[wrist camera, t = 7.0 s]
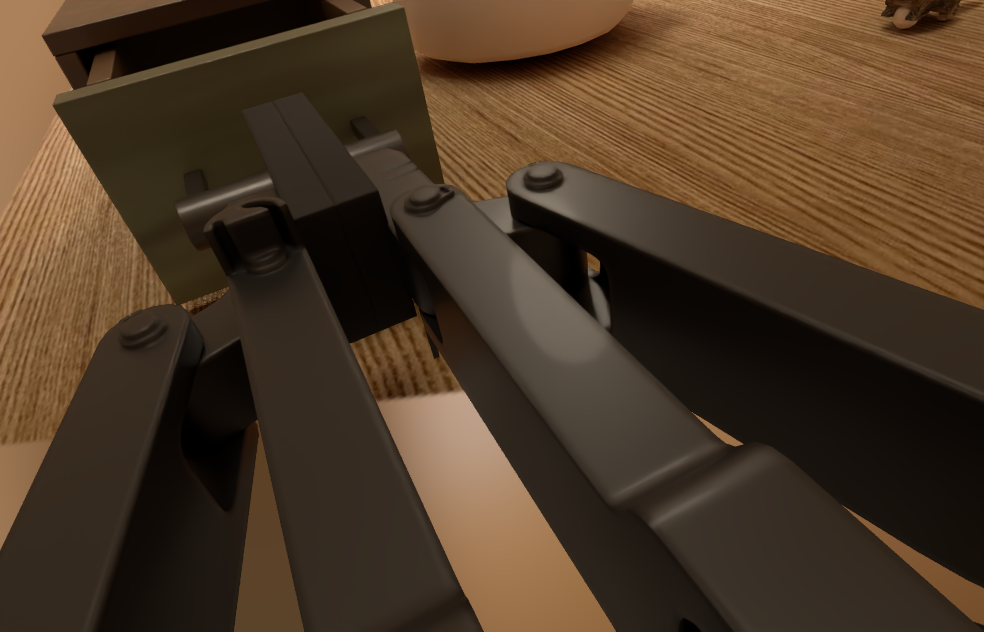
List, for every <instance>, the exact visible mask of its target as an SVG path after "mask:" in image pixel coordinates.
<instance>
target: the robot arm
mask: <svg viewBox="0 0 984 632" xmlns="http://www.w3.org/2000/svg"><path fill="white" fill-rule="evenodd" d="M242 112H243V114H244V117H245V119H246V121H247V124H248V126H249V128H250V131H251V133H252V136H253V138H254V140H255V143H256V145H257V147H258V150H259V152H260V154H261V157H262V159H263V161H264V164H265V166H266V168H267V171H268V173H269V175H270V178H271V180H272V182H273V185H274V187H275V188H272V189H269V190H266V191H263V192H260V193H257V194H254V195H251V196H248V197H246V198H243V199H240V200H237V201H234V202H231V203H228V205H227V207H226V208H225V209H224V210H222V211H221V212H219V213H218V214H216V215H214V216H213V217H212V218H211V219H210V220H209V221H208V222H207V224H206V225H205V228H204V232H203V233H204V235H205V237H206V239H207V241H208V243H209V245H210V246H211V248H212V250H213V252H214V254H215V256H216V258H217V259H218V261H219V263H220V265H221V267H222V269H223V271H224V272H225V274H226V276H227V281H228V286H229V289H228V290H227V292H226V293H225V294H224V295H223V296H222V297H221V298H219V299H218V300H217V301H216V302H214V303H213V304H211V305H210V306H208V307H207V308H205V309H204V310H202V311H200V312H198V313H197V314H195V315H193V316H192V317H191V316H190V315H189V313H188V312H187V311H186V310H185V309H184V308H183V307H182V306H178V305H172V304H166V305H159V306H153V307H150V308H147V309H144V310H139V311H136V312H134V313H132V314H131V316H129V315H128V316H126V317H125V318H123V319H122V320H120V321H119V323H118V324H116V325H115V326H114V327H113V328H111V329H110V330H109V331H108V332H107V333H106V334H105V336H104V337H103V338H102V340H101V341H100V342H99V344H98V346H97V348H96V350H95V352H94V354H93V357H92V359H91V361H90V363H89V365H88V367H87V369H86V371H85V373H84V376H83V378H82V380H81V382H80V384H79V386H78V388H77V390H76V392H75V394H74V397H73V399H72V401H71V403H70V405H69V407H68V409H67V411H66V413H65V416H64V418H63V420H62V422H61V424H60V426H59V428H58V430H57V432H56V434H55V437H54V439H53V441H52V443H51V445H50V447H49V449H48V451H47V454H46V455H45V458H44V460H43V462H42V464H41V466H40V468H39V470H38V472H37V474H36V477H35V479H34V481H33V483H32V485H31V487H30V489H29V491H28V493H27V495H26V498H25V500H24V502H23V504H22V506H21V508H20V510H19V513H18V514H17V517H16V519H15V521H14V523H13V525H12V527H11V529H10V532H9V533H8V535H7V538H6V540H5V542H4V544H3V546H2V548H1V550H0V632H234V625H235V617H236V609H237V601H238V594H239V586H240V578H241V570H242V562H243V554H244V546H245V538H246V531H247V523H248V515H249V507H250V499H251V492H252V484H253V476H254V468H255V459H256V452H257V444H258V437H259V433H258V427H257V424H256V422H255V421H256V420H258V422H259V427H260V431H261V436H262V441H263V445H264V450H265V454H266V459H267V463H268V467H269V472H270V477H271V481H272V485H273V490H274V495H275V500H276V504H277V508H278V513H279V517H280V523H281V527H282V532H283V536H284V541H285V545H286V550H287V554H288V559H289V563H290V568H291V572H292V577H293V582H294V586H295V591H296V595H297V600H298V604H299V609H300V614H301V618H302V623H303V627H304V632H484V631H483V630H482V627H481V625H480V623H479V621H478V619H477V617H476V614H475V612H474V610H473V608H472V606H471V604H470V603H469V600H468V599H467V597H466V596H465V594H464V592H463V590H462V588H461V586H460V584H459V582H458V580H457V578H456V575H455V573H454V571H453V569H452V567H451V565H450V562H449V560H448V558H447V556H446V554H445V551H444V549H443V547H442V545H441V543H440V540H439V538H438V536H437V534H436V532H435V530H434V527H433V525H432V523H431V521H430V519H429V517H428V514H427V512H426V510H425V508H424V505H423V503H422V501H421V499H420V497H419V495H418V493H417V490H416V488H415V486H414V484H413V482H412V479H411V477H410V475H409V473H408V471H407V468H406V466H405V464H404V462H403V460H402V457H401V455H400V453H399V451H398V449H397V447H396V444H395V442H394V440H393V438H392V436H391V433H390V431H389V429H388V427H387V425H386V422H385V420H384V418H383V416H382V414H381V412H380V410H379V407H378V405H377V403H376V401H375V398H374V396H373V394H372V392H371V390H370V388H369V385H368V383H367V381H366V379H365V377H364V374H363V372H362V370H361V368H360V366H359V363H358V361H357V359H356V357H355V355H354V353H353V350H352V348H351V346H350V343H352V342H355V341H357V340H360V339H362V338H365V337H367V336H369V335H372V334H374V333H377V332H379V331H381V330H384V329H386V328H389V327H391V326H393V325H396V324H398V323H401V322H403V321H405V320H408V319H410V318H413V317H415V316H417V314H416V310H415V307H414V304H413V301H412V298H413V300H414V301H415V303H416V304H417V306H418V307H419V310H420V314H421V317H422V320H423V323H424V327H425V330H426V333H427V337H428V340H429V343H430V347H431V350H432V353H433V356H434V359H435V358H437V357H440V356H439V352H440V353H441V355H442V356H443V358H444V360H445V361H446V363H447V364H448V366H449V368H450V369H451V371H452V372H453V374H454V375H455V377H456V379H457V380H458V382H459V383H460V385H461V386H462V388H463V390H464V391H465V393H466V394H467V396H468V398H469V399H470V401H471V402H472V403H473V405H474V407H475V409H476V410H477V412H478V413H479V415H480V417H481V418H482V420H483V421H484V423H485V424H486V426H487V427H488V429H489V431H490V432H491V434H492V435H493V437H494V438H495V440H496V442H497V443H498V445H499V446H500V448H501V450H502V451H503V452H504V454H505V456H506V457H507V459H508V461H509V462H510V464H511V465H512V467H513V469H514V470H515V471H516V473H517V475H518V477H519V478H520V480H521V481H522V483H523V484H524V486H525V488H526V489H527V491H528V492H529V494H530V495H531V497H532V499H533V500H534V502H535V503H536V505H537V506H538V508H539V510H540V511H541V513H542V514H543V516H544V518H545V519H546V521H547V522H548V524H549V525H550V527H551V529H552V530H553V532H554V533H555V535H556V536H557V538H558V540H559V541H560V543H561V544H562V546H563V548H564V549H565V551H566V552H567V554H568V556H569V557H570V559H571V560H572V562H573V563H574V565H575V566H576V568H577V570H578V571H579V573H580V574H581V576H582V577H583V579H584V581H585V582H586V584H587V586H588V587H589V589H590V590H591V592H592V593H593V595H594V596H595V598H596V600H597V601H598V603H599V604H600V606H601V608H602V609H603V611H604V612H605V614H606V616H607V617H608V619H609V620H610V622H611V623H612V625H613V627H614V629H615V630H616V632H984V625H981V624H979V623H976V622H973V621H972V620H971V619H969V618H968V617H967V616H966V615H965V614H964V613H962V612H961V611H960V610H959V609H958V608H957V607H956V606H955V605H954V604H952V603H951V602H950V601H949V600H948V599H947V598H946V597H945V596H944V595H942V594H941V593H940V592H939V591H938V590H937V589H936V588H934V587H933V586H932V585H931V584H930V583H929V582H928V581H927V580H925V579H924V578H923V577H922V576H921V575H920V574H919V573H918V572H916V571H915V570H914V569H913V568H912V567H911V566H910V565H909V564H907V563H906V562H905V561H904V560H903V559H902V558H900V557H899V556H898V555H897V554H896V553H895V552H894V551H893V550H892V549H890V548H889V547H888V546H887V545H886V544H885V543H884V542H883V541H881V540H880V539H879V538H878V537H877V536H876V535H875V534H874V533H872V532H871V531H870V530H869V529H868V528H867V527H866V526H865V525H863V524H862V523H861V522H860V521H859V520H858V519H857V518H856V517H854V516H853V515H852V514H851V513H850V512H849V511H848V510H847V509H845V508H844V507H843V506H845V507H846V508H848V509H850V510H851V511H853V512H854V513H856V514H858V515H859V516H861V517H862V518H864V519H866V520H867V521H869V522H870V523H872V524H874V525H875V526H877V527H878V528H880V529H882V530H883V531H885V532H887V533H888V534H890V535H892V536H893V537H895V538H896V539H898V540H899V541H901V542H903V543H904V544H906V545H908V546H909V547H911V548H913V549H914V550H916V551H917V552H919V553H921V554H923V555H924V556H926V557H928V558H930V559H931V560H933V561H935V562H937V563H938V564H940V565H942V566H943V567H945V568H947V569H949V570H950V571H952V572H954V573H956V574H958V575H959V576H961V577H963V578H965V579H966V580H968V581H971V582H973V583H974V584H977V585H979V586H981V587H983V588H984V310H982V309H979V308H976V307H973V306H971V305H968V304H965V303H962V302H959V301H956V300H954V299H951V298H948V297H945V296H942V295H939V294H937V293H934V292H931V291H928V290H925V289H923V288H920V287H917V286H914V285H911V284H908V283H906V282H903V281H900V280H897V279H894V278H891V277H889V276H886V275H883V274H880V273H877V272H874V271H872V270H869V269H866V268H863V267H860V266H857V265H855V264H852V263H849V262H846V261H843V260H840V259H838V258H835V257H832V256H829V255H826V254H823V253H821V252H818V251H815V250H812V249H809V248H806V247H804V246H801V245H798V244H795V243H792V242H789V241H787V240H784V239H781V238H778V237H775V236H773V235H770V234H767V233H764V232H761V231H758V230H756V229H753V228H750V227H747V226H744V225H741V224H739V223H736V222H733V221H730V220H727V219H724V218H722V217H719V216H716V215H713V214H710V213H707V212H705V211H702V210H699V209H696V208H693V207H690V206H688V205H685V204H682V203H679V202H676V201H673V200H671V199H668V198H665V197H662V196H659V195H656V194H654V193H651V192H648V191H645V190H642V189H639V188H637V187H634V186H631V185H628V184H625V183H623V182H620V181H617V180H614V179H611V178H608V177H606V176H603V175H600V174H597V173H594V172H591V171H589V170H586V169H583V168H580V167H577V166H574V165H572V164H568V163H563V162H548V161H539V162H538V163H536V162H535V163H531V164H528V166H525V167H523V168H520V169H518V170H517V171H515V172H514V173H512V174H511V175H510V176H509V178H508V179H507V181H506V187H507V193H508V196H505V197H499V198H494V199H489V200H482V201H471V200H470V199H469V198H468V197H467V196H466V195H465V194H464V193H463V192H462V191H461V190H460V189H458V188H456V187H454V186H452V185H446V184H434V183H433V182H432V181H431V180H430V179H429V178H428V177H427V176H426V175H425V174H424V173H423V172H422V171H421V170H420V169H418V167H417V166H416V165H415V164H414V163H413V162H412V161H411V160H410V159H409V158H408V157H407V156H406V155H405V154H404V153H403V152H400V151H397V150H393V149H390V148H384V149H381V150H378V151H375V152H372V153H369V154H366V155H364V156H361V157H358V158H355V159H354V158H353V157H352V155H351V154H350V153H349V152H348V150H347V149H346V148H345V146H344V145H343V144H342V143H341V141H340V140H339V139H338V138H337V136H336V135H335V134H334V132H333V131H332V130H331V129H330V127H329V126H328V125H327V123H326V122H325V121H324V120H323V118H322V117H321V116H320V114H319V113H318V112H317V111H316V109H315V108H314V107H313V105H312V104H311V103H310V102H309V100H308V99H307V98H306V96H305V95H304V94H303V93H302V92H301V93H298V94H294V95H291V96H288V97H285V98H281V99H278V100H275V101H271V102H268V103H265V104H262V105H258V106H255V107H252V108H248V109H245V110H242ZM587 252H588V253H590V254H592V255H593V256H594V257H596V258H597V259H598V260H599V261H600V272H598V271H595V270H593V269H591V268H589V267H588V261H587ZM438 350H439V352H438ZM692 412H693V413H694V414H696V415H698V416H699V417H701V418H703V419H704V420H706V421H708V422H709V423H711V424H712V425H714V426H715V427H717V428H719V429H720V430H722V431H724V432H725V433H727V434H728V435H730V436H732V437H733V438H735V439H736V440H738V441H740V442H741V443H743V445H740V446H736V447H735V446H732V445H729V444H726V443H725V442H724V441H722V440H721V439H720V438H718V437H717V436H716V435H715V434H714V433H713V432H711V430H710V429H708V428H707V427H706V426H705V425H704V424H703V423H702V422H701V421H700V420H699V419H698V418H697V417H696V416H695V415H694V414H693V413H692ZM842 505H843V506H842Z"/></svg>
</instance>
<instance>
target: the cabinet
mask: <svg viewBox="0 0 984 632" xmlns="http://www.w3.org/2000/svg"><path fill="white" fill-rule="evenodd" d="M266 1H270V0H65V2H64V3H63V5H62V7H61V8H60V9H59V11H58V12H57V14H56V15H55V17H54V18H53V20H52V21H51V23H50V24H49V26H48V27H47V28H46V30H45V31H44V33H43V34H42V37H43V39H44V41H45V42H46V44H47V46H48V47H49V49H50V51H51V53H52V54H53V56H56V57H55V59H56V61H57V62H58V64H59V66H60V68H61V69H62V71H63V73H64V74H65V76H66V78H67V79H68V81H69V83H70V85H71V86H72V88H73V90H76V89H80V88H83V87H87V82H88V78H89V74H90V71H91V67H92V64H93V60H94V57H95V53H96V50H97V46H98V45H102V44H105V43H109V42H113V41H117V40H121V39H125V38H128V37H132V36H136V35H140V34H144V33H148V32H151V31H155V30H159V29H163V28H167V27H171V26H174V25H178V24H182V23H186V22H190V21H194V20H197V19H201V18H205V17H209V16H213V15H216V14H220V13H224V12H228V11H232V10H236V9H239V8H243V7H247V6H251V5H255V4H259V3H262V2H266ZM353 1H355V2H357V3H359V4H361V5H363V6H364V7H366V8H367V9H370V8H372V7H371V3H370V0H353Z"/></svg>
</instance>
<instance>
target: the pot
mask: <svg viewBox="0 0 984 632" xmlns="http://www.w3.org/2000/svg"><path fill="white" fill-rule="evenodd" d="M393 2H394V3H397V4H399V5H401V6H403V7H404V8H405V12H406V17H407V21H408V25H409V30H410V34H411V39H412V43H413V47H414V50H416V51H417V52H419V53H421V54H423V55H424V56H426V57H428V58H433V59H440V60H446V61H455V62H465V63H484V62H495V61H505V60H516V59H522V58H527V57H533V56H539V55H545V54H550V53H553V52H557V51H560V50H563V49H567V48H570V47H573V46H577V45H580V44H583V43H585V42H587V41H590V40H592V39H594V38H596V37H599V36H601V35H603V34H605V33H607V32H609V31H610V30H611V29H612V28H614V27H615V26H616V25H617V24H618V23H619V22H620V21H621V20H622V19H623V18H624V16H625V15H626V14H627V13H628V11H629V10H630V8H631V7H632V3H633V0H393Z"/></svg>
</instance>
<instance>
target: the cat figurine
mask: <svg viewBox="0 0 984 632" xmlns="http://www.w3.org/2000/svg"><path fill="white" fill-rule="evenodd" d="M960 1H961V0H886V1H885V4H886V5H887V7H886V9H885V10H884V11H883V12H882V15H881V16H885V17H892V16H894V17H893V23H894V24H895V25H896V27H898V28H900V29H905V28H910V27H911V26H913V25H914V24H916V22H917V21H918V20H920V19H921V17H922V16H927V15H928V13H929V12H930V11H933V12H938V13H940V14H939V16H938V18H937V20H943V21H946V20H951V19H952V18H953V16H954V15H955V13H956V11H957V10H958V8H959V6H960V5H959V3H960Z"/></svg>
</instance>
